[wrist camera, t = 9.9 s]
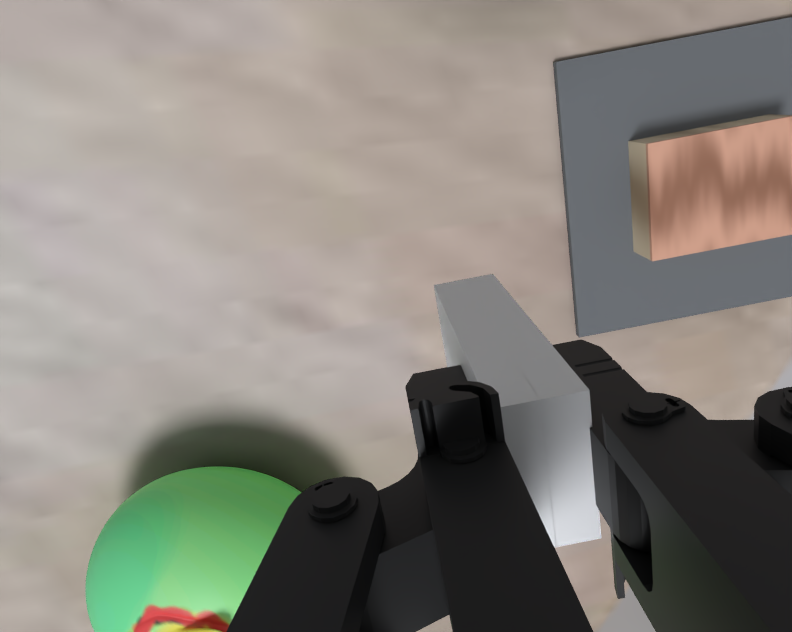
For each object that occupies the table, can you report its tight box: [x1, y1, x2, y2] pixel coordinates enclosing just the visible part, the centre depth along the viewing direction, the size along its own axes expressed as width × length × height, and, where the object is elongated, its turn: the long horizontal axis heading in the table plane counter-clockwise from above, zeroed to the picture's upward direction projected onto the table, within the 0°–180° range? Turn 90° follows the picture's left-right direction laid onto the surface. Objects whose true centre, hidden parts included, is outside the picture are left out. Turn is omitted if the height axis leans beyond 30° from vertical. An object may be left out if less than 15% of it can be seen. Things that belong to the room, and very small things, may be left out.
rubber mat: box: [553, 17, 792, 337], centre depth 44 cm, size 20×17×1 cm
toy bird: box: [86, 467, 302, 632], centre depth 45 cm, size 18×17×15 cm
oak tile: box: [628, 114, 792, 261], centre depth 43 cm, size 8×3×10 cm
